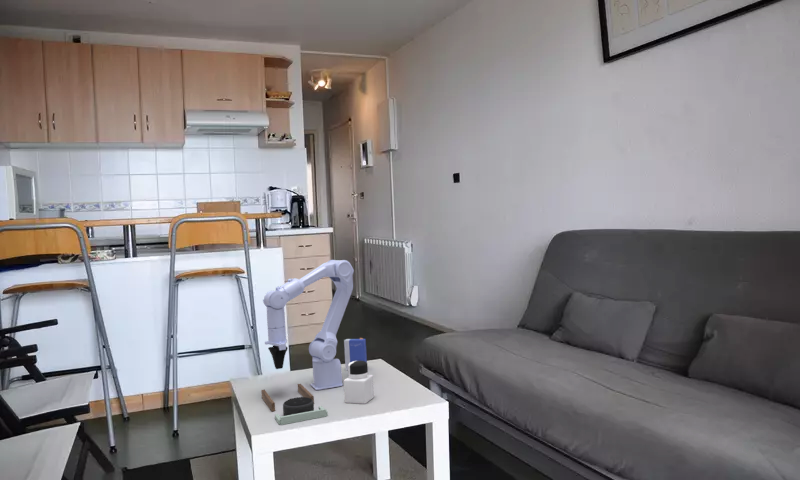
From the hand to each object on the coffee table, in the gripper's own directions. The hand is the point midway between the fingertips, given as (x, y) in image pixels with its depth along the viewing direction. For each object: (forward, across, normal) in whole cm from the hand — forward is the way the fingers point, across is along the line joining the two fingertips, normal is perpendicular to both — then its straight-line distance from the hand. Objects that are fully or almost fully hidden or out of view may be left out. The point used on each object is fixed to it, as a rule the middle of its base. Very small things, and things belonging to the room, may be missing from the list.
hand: (279, 368), depth 185 cm
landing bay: (+9, +25, 0) cm, 27 cm away
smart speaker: (+10, +22, 0) cm, 24 cm away
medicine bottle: (+9, +20, +20) cm, 30 cm away
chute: (+9, +7, 0) cm, 11 cm away
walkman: (+9, -17, +33) cm, 38 cm away
